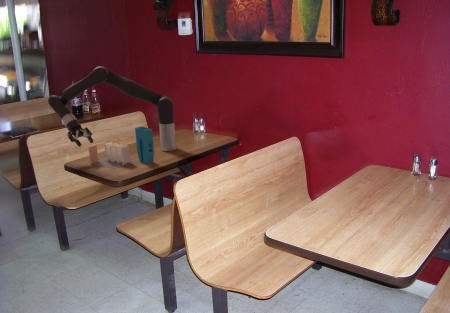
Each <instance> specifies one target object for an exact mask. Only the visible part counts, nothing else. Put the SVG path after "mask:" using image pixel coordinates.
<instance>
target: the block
mask: <svg viewBox="0 0 450 313" xmlns="http://www.w3.org/2000/svg"><path fill="white" fill-rule="evenodd" d="M134 129H135V131H134V132H135V140H136V143H135V144H136V151H137V152H136V153H137V156H138V161H139V162H140V163H143V164H144V165H149V164H153V163H154V160H155V159H154V158H155V145H154V135H153V129H152V128H148V127H145V126H138V127H137V126H136V127H135V128H134Z"/></svg>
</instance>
